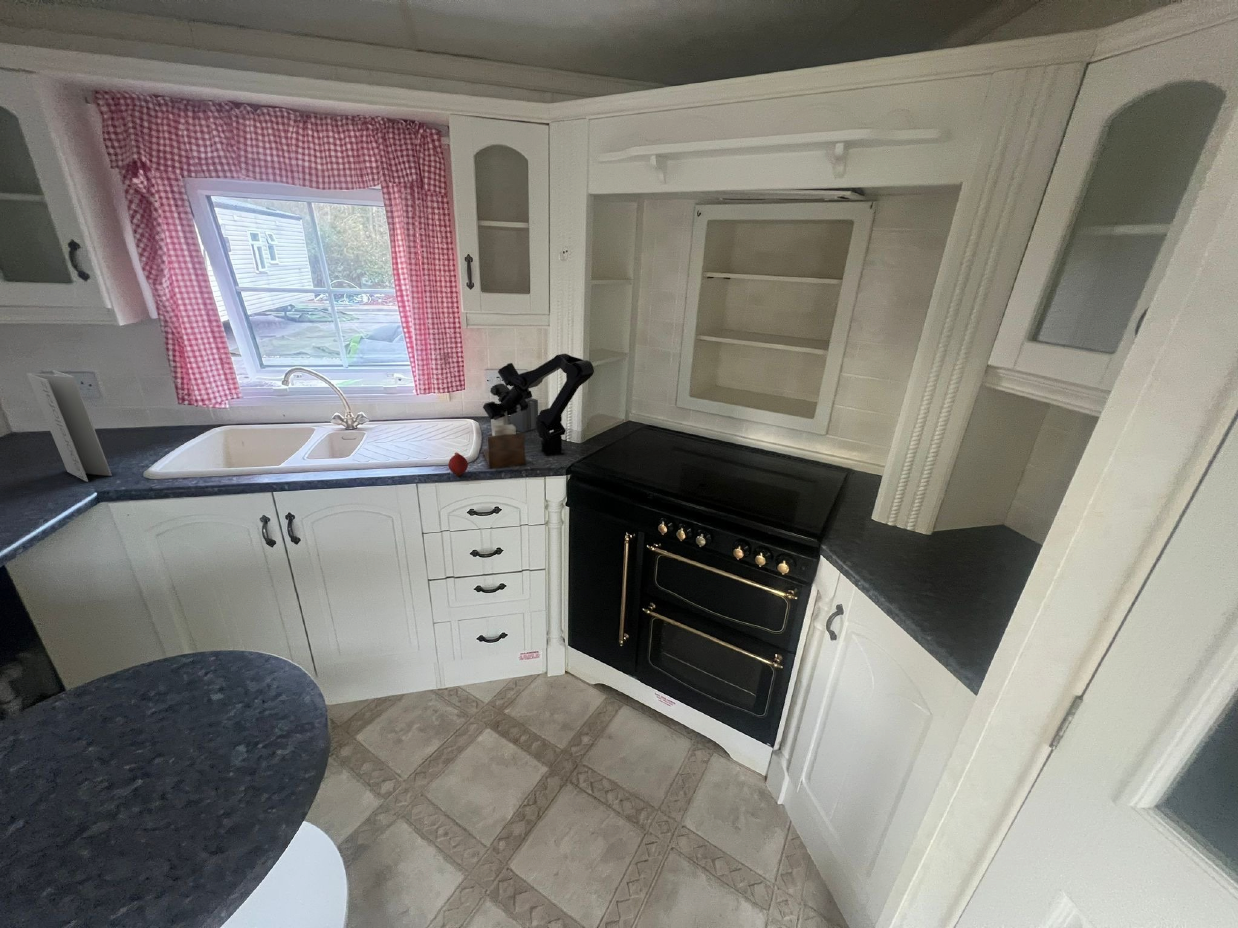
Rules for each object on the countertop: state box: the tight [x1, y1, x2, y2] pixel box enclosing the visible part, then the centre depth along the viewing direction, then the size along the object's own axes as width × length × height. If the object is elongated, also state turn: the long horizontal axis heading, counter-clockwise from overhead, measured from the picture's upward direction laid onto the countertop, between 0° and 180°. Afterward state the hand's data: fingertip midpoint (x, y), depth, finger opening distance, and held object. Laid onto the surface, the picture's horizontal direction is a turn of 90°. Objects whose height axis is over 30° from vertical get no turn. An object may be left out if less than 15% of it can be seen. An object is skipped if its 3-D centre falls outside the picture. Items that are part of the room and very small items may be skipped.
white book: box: [490, 411, 509, 436], centre depth 193 cm, size 2×7×12 cm, turn 56°
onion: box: [448, 451, 469, 477], centre depth 157 cm, size 6×6×8 cm
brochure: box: [26, 370, 113, 483], centre depth 143 cm, size 14×6×30 cm, turn 62°
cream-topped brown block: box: [482, 423, 526, 469], centre depth 171 cm, size 12×16×13 cm
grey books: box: [509, 397, 539, 433], centre depth 203 cm, size 9×7×13 cm
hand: (496, 418), depth 193 cm, fingers closed on white book, 2 cm apart
